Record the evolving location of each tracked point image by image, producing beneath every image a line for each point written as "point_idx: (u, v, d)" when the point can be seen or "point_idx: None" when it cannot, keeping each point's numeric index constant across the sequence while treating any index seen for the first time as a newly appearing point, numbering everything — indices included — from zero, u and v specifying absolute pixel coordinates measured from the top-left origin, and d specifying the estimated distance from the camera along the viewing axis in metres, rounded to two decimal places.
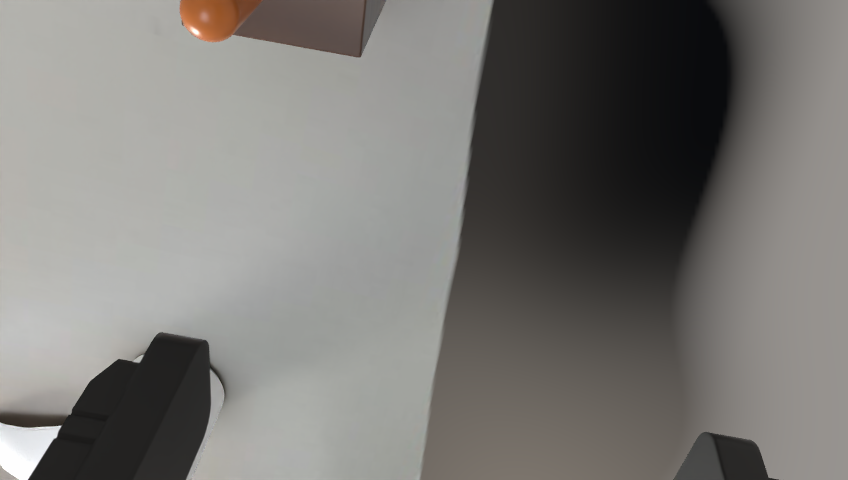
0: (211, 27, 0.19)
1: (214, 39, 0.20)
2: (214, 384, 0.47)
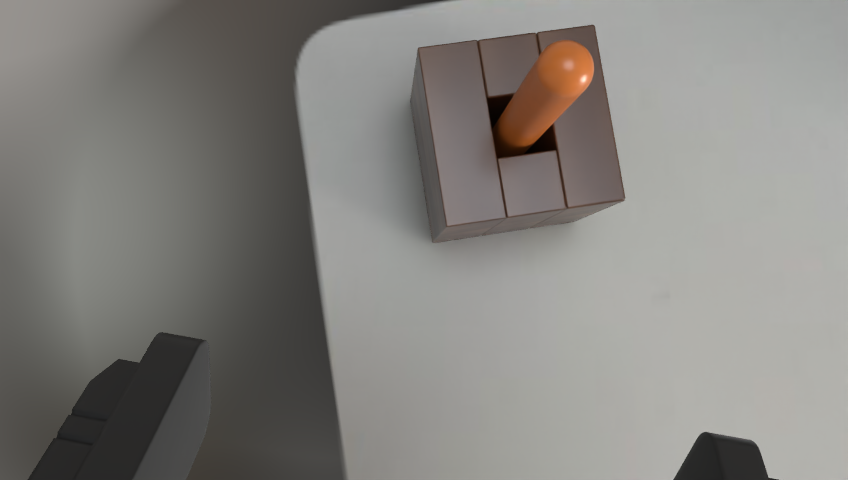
0: (574, 51, 0.20)
1: (587, 51, 0.20)
2: None
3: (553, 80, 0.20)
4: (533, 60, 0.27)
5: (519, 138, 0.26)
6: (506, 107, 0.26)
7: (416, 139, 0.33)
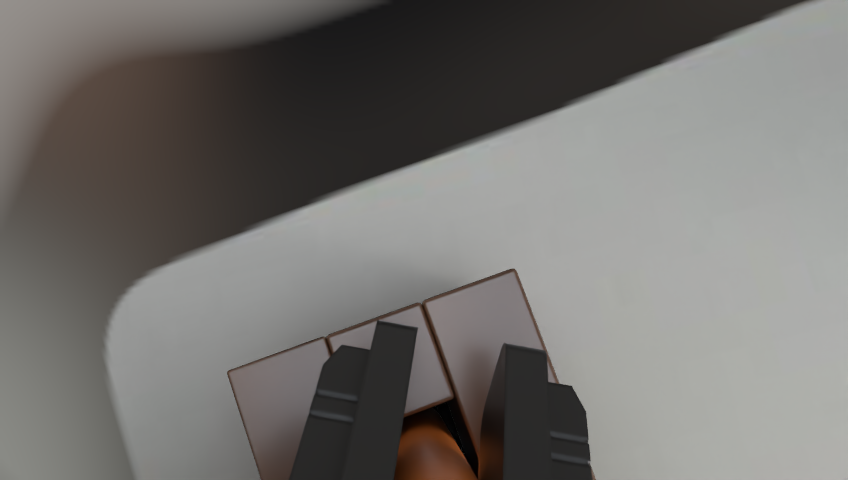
0: None
1: None
2: None
3: None
4: (425, 351, 0.16)
5: None
6: None
7: None
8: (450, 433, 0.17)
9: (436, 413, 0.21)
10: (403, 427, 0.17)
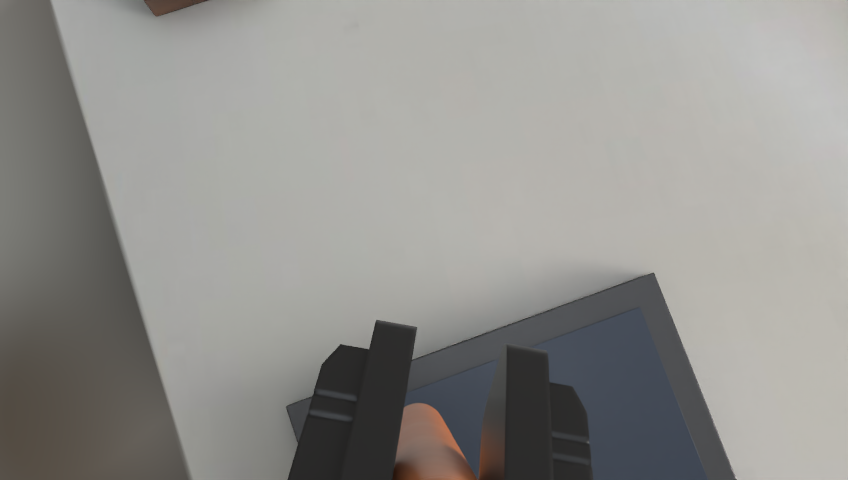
0: None
1: None
2: None
3: None
4: None
5: None
6: None
7: None
8: (450, 432, 0.17)
9: (436, 412, 0.21)
10: (403, 426, 0.17)
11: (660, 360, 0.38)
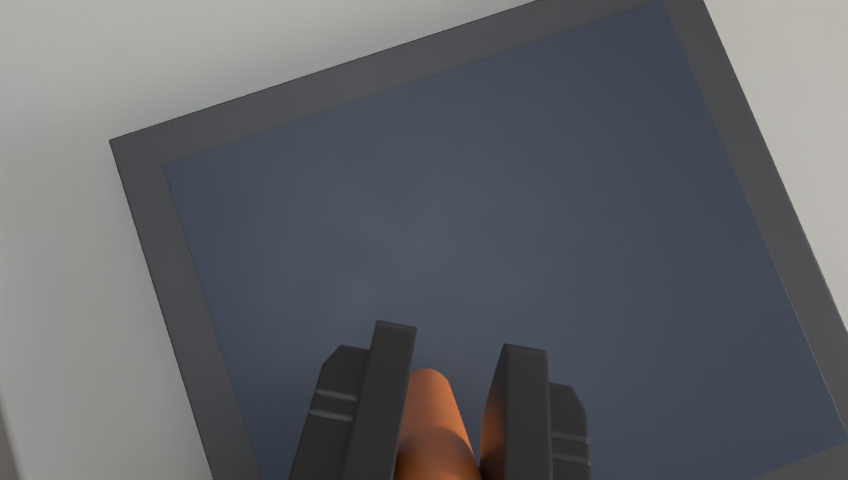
0: None
1: None
2: None
3: None
4: None
5: None
6: None
7: None
8: (455, 407, 0.17)
9: (443, 380, 0.21)
10: (408, 401, 0.17)
11: (694, 79, 0.24)
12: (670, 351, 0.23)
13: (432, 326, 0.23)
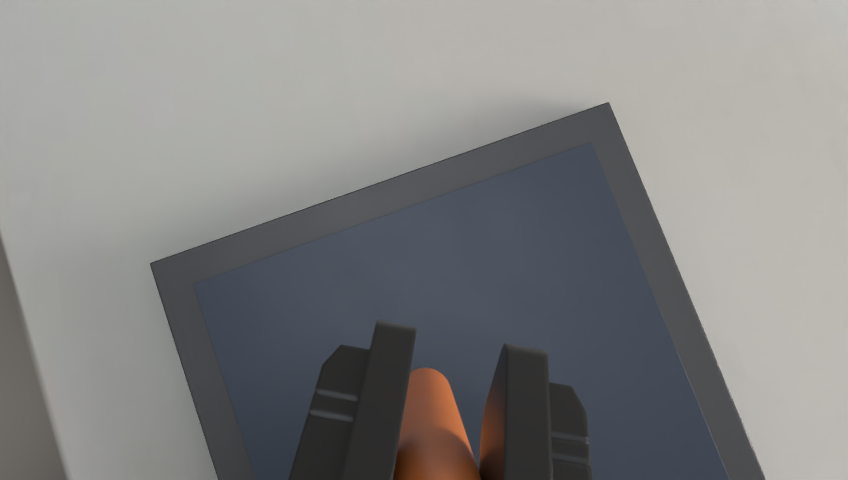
0: None
1: None
2: None
3: None
4: None
5: None
6: None
7: None
8: (455, 407, 0.17)
9: (442, 380, 0.21)
10: (408, 401, 0.17)
11: (617, 207, 0.30)
12: (595, 429, 0.29)
13: None
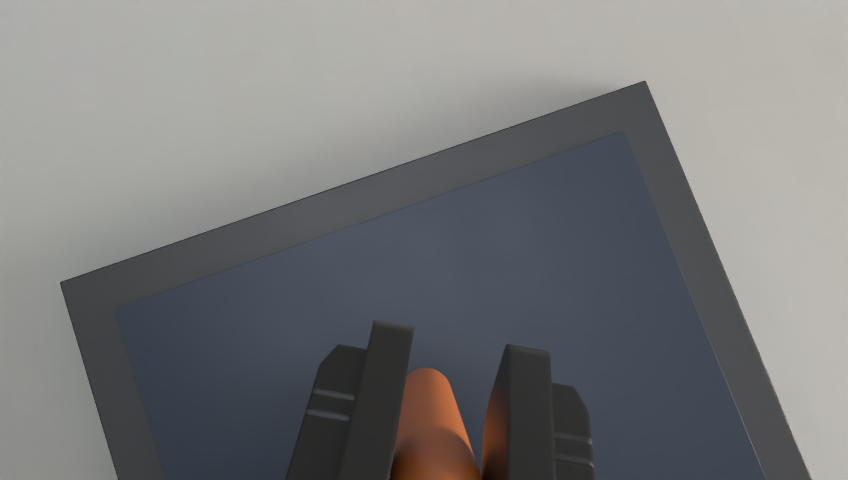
0: None
1: None
2: None
3: None
4: None
5: None
6: None
7: None
8: (455, 407, 0.17)
9: (443, 379, 0.21)
10: (408, 401, 0.17)
11: (656, 213, 0.24)
12: None
13: None
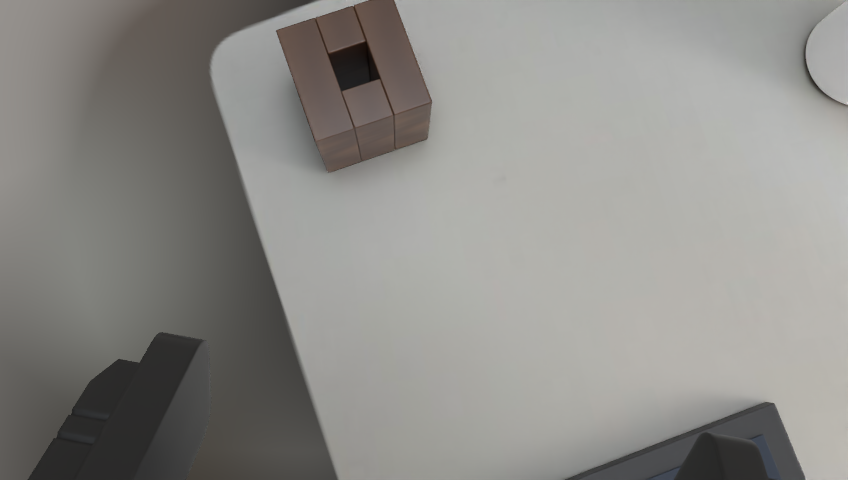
0: None
1: None
2: (819, 22, 0.47)
3: None
4: (354, 23, 0.40)
5: None
6: None
7: None
8: None
9: None
10: None
11: None
12: None
13: None
